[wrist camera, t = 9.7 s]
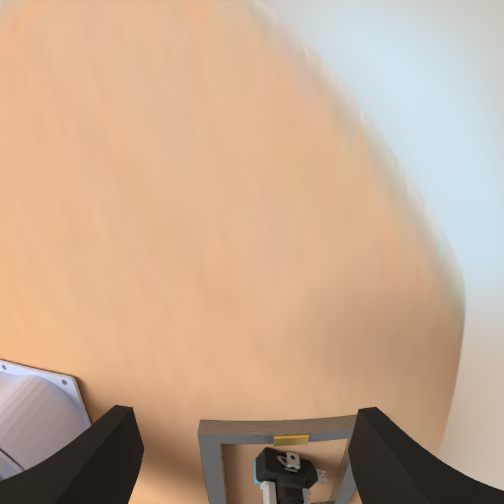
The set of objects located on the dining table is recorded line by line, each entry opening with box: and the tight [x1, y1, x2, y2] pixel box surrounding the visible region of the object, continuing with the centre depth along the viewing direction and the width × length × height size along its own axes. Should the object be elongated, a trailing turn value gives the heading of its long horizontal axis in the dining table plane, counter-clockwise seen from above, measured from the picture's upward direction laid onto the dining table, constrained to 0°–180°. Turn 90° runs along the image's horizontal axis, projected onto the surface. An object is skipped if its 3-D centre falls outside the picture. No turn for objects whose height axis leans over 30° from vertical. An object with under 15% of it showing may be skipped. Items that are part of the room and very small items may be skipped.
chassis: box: [198, 415, 357, 504], centre depth 22 cm, size 13×14×2 cm
